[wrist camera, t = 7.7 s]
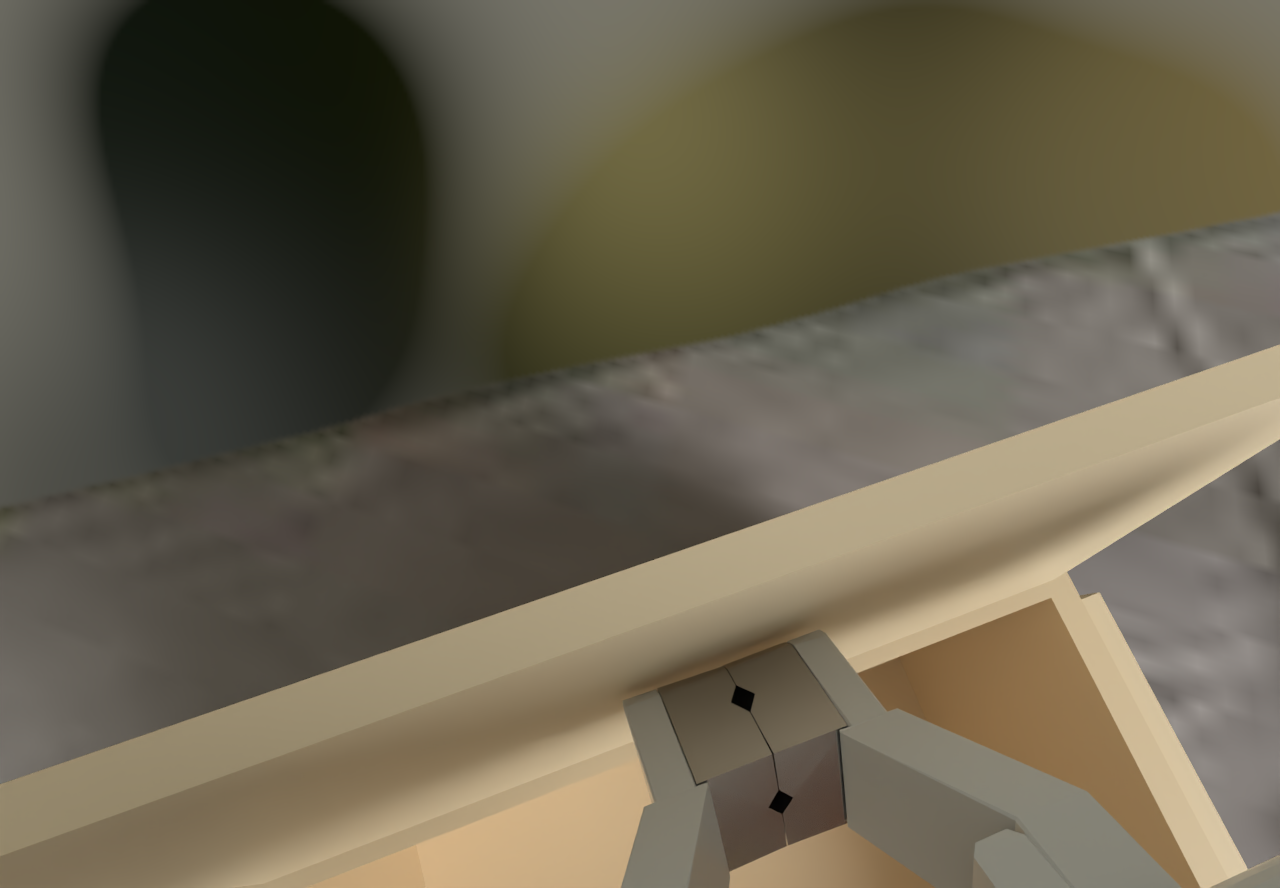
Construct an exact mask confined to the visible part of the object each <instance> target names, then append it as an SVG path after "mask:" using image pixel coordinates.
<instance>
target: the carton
mask: <svg viewBox="0 0 1280 888" xmlns="http://www.w3.org/2000/svg"><path fill="white" fill-rule="evenodd" d="M846 660H847V661H848V662H849V664H850V665H851V666H852V667H853V669H854V670H855V671H856V672H857V674H858V675H859V676H860V678H861V679H862V680H863V681H864V683H865V684H866V685H867V686H868V688H869V689H870V690H871V692H872V693H873V694H874V695H875V697H876V698H877V699H878V701H879V702H880V703H881V704H882V706H883V707H884V708H885V709H886V711H887V712H888V711H891V710H894V709H897V708H898V709H900V710H902V711H905V712H907V713H909V714H912V715H914V716H916V717H918V718H921V719H923V720H925V721H927V722H930V723H932V724H934V725H937V726H939V727H941V728H943V729H946V730H948V731H950V732H953V733H955V734H957V735H959V736H962V737H964V738H966V739H969V740H971V741H973V742H975V743H978V744H980V745H982V746H985V747H987V748H989V749H991V750H994V751H996V752H998V753H1001V754H1003V755H1005V756H1007V757H1010V758H1012V759H1014V760H1017V761H1019V762H1021V763H1023V764H1026V765H1028V766H1030V767H1033V768H1035V769H1037V770H1039V771H1042V772H1044V773H1046V774H1049V775H1051V776H1053V777H1055V778H1058V779H1060V780H1062V781H1065V782H1067V783H1069V784H1071V785H1074V786H1076V787H1078V788H1081V789H1083V790H1085V791H1087V792H1088V793H1089V794H1090V795H1091V796H1092V797H1093V798H1094V799H1095V800H1096V801H1097V802H1098V803H1099V804H1100V805H1101V806H1102V807H1103V808H1104V809H1105V810H1106V811H1107V812H1108V813H1109V814H1110V815H1111V816H1112V817H1113V818H1114V819H1115V820H1116V821H1117V822H1118V823H1119V824H1120V825H1121V826H1122V827H1123V828H1124V829H1125V830H1126V831H1127V832H1128V833H1129V834H1130V835H1131V836H1132V838H1133V839H1134V840H1135V841H1136V842H1137V843H1138V844H1139V845H1140V846H1141V847H1142V848H1143V849H1144V850H1145V851H1146V852H1147V853H1148V854H1149V855H1150V856H1151V857H1152V858H1153V859H1154V860H1155V861H1156V862H1157V863H1158V864H1159V865H1160V866H1161V867H1162V868H1163V869H1164V870H1165V871H1166V872H1167V873H1168V874H1169V875H1170V876H1171V877H1172V878H1173V879H1174V880H1175V881H1176V882H1177V883H1178V884H1179V885H1180V886H1181V887H1182V888H1210V887H1212V886H1214V885H1216V884H1218V883H1220V882H1223V881H1225V880H1227V879H1229V878H1231V877H1233V876H1235V875H1237V874H1240V873H1242V872H1244V871H1246V870H1248V869H1247V867H1246V865H1245V863H1244V861H1243V859H1242V857H1241V856H1240V854H1239V852H1238V850H1237V848H1236V846H1235V844H1234V843H1233V841H1232V839H1231V837H1230V835H1229V833H1228V831H1227V829H1226V828H1225V826H1224V824H1223V822H1222V820H1221V818H1220V816H1219V815H1218V813H1217V811H1216V809H1215V807H1214V805H1213V803H1212V801H1211V800H1210V798H1209V796H1208V794H1207V792H1206V790H1205V788H1204V787H1203V785H1202V783H1201V781H1200V779H1199V777H1198V775H1197V773H1196V772H1195V770H1194V768H1193V766H1192V764H1191V762H1190V760H1189V759H1188V757H1187V755H1186V753H1185V751H1184V749H1183V747H1182V745H1181V744H1180V742H1179V740H1178V738H1177V736H1176V734H1175V732H1174V731H1173V729H1172V727H1171V725H1170V723H1169V721H1168V719H1167V718H1166V716H1165V714H1164V712H1163V710H1162V708H1161V706H1160V704H1159V703H1158V701H1157V699H1156V697H1155V695H1154V693H1153V691H1152V690H1151V688H1150V686H1149V684H1148V682H1147V680H1146V678H1145V676H1144V675H1143V673H1142V671H1141V669H1140V667H1139V665H1138V663H1137V662H1136V660H1135V658H1134V656H1133V654H1132V652H1131V650H1130V648H1129V647H1128V645H1127V643H1126V641H1125V639H1124V637H1123V635H1122V634H1121V632H1120V630H1119V628H1118V626H1117V624H1116V622H1115V620H1114V619H1113V617H1112V615H1111V613H1110V611H1109V609H1108V607H1107V606H1106V604H1105V602H1104V600H1103V598H1102V596H1101V594H1100V592H1099V593H1092V594H1086V595H1080V596H1079V594H1078V592H1077V590H1076V588H1075V586H1074V585H1073V583H1072V581H1071V579H1070V577H1069V575H1068V573H1067V572H1065V573H1064V574H1062V575H1060V576H1059V577H1057V578H1056V579H1054V580H1052V581H1049V582H1047V583H1044V584H1041V585H1039V586H1036V587H1034V588H1031V589H1028V590H1026V591H1023V592H1021V593H1018V594H1015V595H1013V596H1010V597H1008V598H1005V599H1002V600H1000V601H997V602H995V603H992V604H989V605H987V606H984V607H982V608H979V609H976V610H974V611H971V612H969V613H966V614H963V615H961V616H958V617H956V618H953V619H950V620H948V621H945V622H943V623H940V624H937V625H935V626H932V627H930V628H927V629H924V630H922V631H919V632H917V633H914V634H911V635H909V636H906V637H904V638H901V639H898V640H896V641H893V642H891V643H888V644H885V645H883V646H880V647H878V648H875V649H872V650H870V651H867V652H865V653H862V654H859V655H857V656H854V657H852V658H849V659H846ZM649 804H652V802H651V799H650V796H649V793H648V790H647V786H646V783H645V779H644V776H643V773H642V769H641V766H640V762H639V759H638V755H637V752H636V749H635V745H634V742H631V743H628V744H625V745H623V746H620V747H618V748H615V749H612V750H610V751H607V752H605V753H602V754H599V755H597V756H594V757H592V758H589V759H586V760H584V761H581V762H579V763H576V764H573V765H571V766H568V767H566V768H563V769H560V770H558V771H555V772H553V773H550V774H547V775H545V776H542V777H540V778H537V779H534V780H532V781H529V782H527V783H524V784H521V785H519V786H516V787H514V788H511V789H508V790H506V791H503V792H501V793H498V794H495V795H493V796H490V797H488V798H485V799H482V800H480V801H477V802H475V803H472V804H469V805H467V806H464V807H462V808H459V809H456V810H454V811H451V812H449V813H446V814H443V815H441V816H438V817H436V818H433V819H430V820H428V821H425V822H423V823H420V824H417V825H415V826H412V827H410V828H407V829H404V830H402V831H399V832H397V833H394V834H391V835H389V836H386V837H384V838H381V839H378V840H376V841H373V842H371V843H368V844H365V845H363V846H360V847H358V848H355V849H352V850H350V851H347V852H345V853H342V854H339V855H337V856H334V857H332V858H329V859H326V860H324V861H321V862H319V863H316V864H313V865H311V866H308V867H306V868H303V869H300V870H298V871H295V872H293V873H290V874H287V875H285V876H282V877H280V878H277V879H274V880H272V881H269V882H267V883H264V884H257V885H249V886H242V887H235V888H621V886H622V882H623V879H624V875H625V871H626V868H627V864H628V861H629V857H630V854H631V850H632V847H633V843H634V840H635V836H636V833H637V829H638V826H639V822H640V819H641V815H642V812H643V808H644V807H645V806H647V805H649ZM786 844H787V842H786ZM729 873H730V883H729V888H935V887H934V886H932V885H931V884H929V883H928V882H927V881H925V880H924V879H922V878H921V877H919V876H918V875H917V874H915V873H914V872H912V871H911V870H909V869H908V868H906V867H905V866H904V865H902V864H901V863H899V862H898V861H896V860H895V859H894V858H892V857H891V856H889V855H888V854H886V853H885V852H883V851H882V850H881V849H879V848H878V847H876V846H875V845H873V844H872V843H870V842H869V841H868V840H866V839H865V838H863V837H862V836H860V835H859V834H858V833H856V832H855V831H853V830H852V829H850V828H849V827H848V824H847V823H846V824H844V825H841V826H839V827H836V828H833V829H831V830H828V831H825V832H823V833H820V834H817V835H815V836H812V837H809V838H807V839H804V840H801V841H799V842H796V843H794V844H791V845H788V844H787V846H786V847H784V848H781V849H779V850H777V851H775V852H772V853H770V854H768V855H766V856H763V857H761V858H759V859H757V860H755V861H752V862H750V863H748V864H746V865H743V866H741V867H739V868H737V869H734V870H732V871H730V872H729Z"/></svg>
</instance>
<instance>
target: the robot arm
mask: <svg viewBox="0 0 1280 888" xmlns="http://www.w3.org/2000/svg"><path fill="white" fill-rule="evenodd" d="M622 702H623V707H624V711H625V714H626V718H627V721H628V725H629V728H630V732H631V735H632V738H633V742H634V745H635V749H636V752H637V755H638V759H639V762H640V766H641V769H642V773H643V776H644V779H645V783H646V786H647V790H648V793H649V796H650V799H651V802H652V804H649V805H647V806H645V807H644V808H643V812H642V815H641V819H640V822H639V826H638V829H637V833H636V836H635V840H634V843H633V847H632V850H631V854H630V857H629V861H628V864H627V868H626V871H625V875H624V879H623V882H622V886H621V888H729V883H730V873H729V872H730V871H732V870H734V869H737V868H739V867H741V866H743V865H746V864H748V863H750V862H752V861H755V860H757V859H759V858H761V857H763V856H766V855H768V854H770V853H772V852H775V851H777V850H779V849H781V848H784V847H786V846H787V844H788V845H791V844H794V843H796V842H799V841H801V840H804V839H807V838H809V837H812V836H815V835H817V834H820V833H823V832H825V831H828V830H831V829H833V828H836V827H839V826H841V825H844V824H846V823H847V824H848V827H849V828H850V829H852V830H853V831H855V832H856V833H858V834H859V835H860V836H862V837H863V838H865V839H866V840H868V841H869V842H870V843H872V844H873V845H875V846H876V847H878V848H879V849H881V850H882V851H883V852H885V853H886V854H888V855H889V856H891V857H892V858H894V859H895V860H896V861H898V862H899V863H901V864H902V865H904V866H905V867H906V868H908V869H909V870H911V871H912V872H914V873H915V874H917V875H918V876H919V877H921V878H922V879H924V880H925V881H927V882H928V883H929V884H931V885H932V886H934V887H935V888H1182V887H1181V886H1180V885H1179V884H1178V883H1177V882H1176V881H1175V880H1174V879H1173V878H1172V877H1171V876H1170V875H1169V874H1168V873H1167V872H1166V871H1165V870H1164V869H1163V868H1162V867H1161V866H1160V865H1159V864H1158V863H1157V862H1156V861H1155V860H1154V859H1153V858H1152V857H1151V856H1150V855H1149V854H1148V853H1147V852H1146V851H1145V850H1144V849H1143V848H1142V847H1141V846H1140V845H1139V844H1138V843H1137V842H1136V841H1135V840H1134V839H1133V838H1132V836H1131V835H1130V834H1129V833H1128V832H1127V831H1126V830H1125V829H1124V828H1123V827H1122V826H1121V825H1120V824H1119V823H1118V822H1117V821H1116V820H1115V819H1114V818H1113V817H1112V816H1111V815H1110V814H1109V813H1108V812H1107V811H1106V810H1105V809H1104V808H1103V807H1102V806H1101V805H1100V804H1099V803H1098V802H1097V801H1096V800H1095V799H1094V798H1093V797H1092V796H1091V795H1090V794H1089V793H1088V792H1087V791H1085V790H1083V789H1081V788H1078V787H1076V786H1074V785H1071V784H1069V783H1067V782H1065V781H1062V780H1060V779H1058V778H1055V777H1053V776H1051V775H1049V774H1046V773H1044V772H1042V771H1039V770H1037V769H1035V768H1033V767H1030V766H1028V765H1026V764H1023V763H1021V762H1019V761H1017V760H1014V759H1012V758H1010V757H1007V756H1005V755H1003V754H1001V753H998V752H996V751H994V750H991V749H989V748H987V747H985V746H982V745H980V744H978V743H975V742H973V741H971V740H969V739H966V738H964V737H962V736H959V735H957V734H955V733H953V732H950V731H948V730H946V729H943V728H941V727H939V726H937V725H934V724H932V723H930V722H927V721H925V720H923V719H921V718H918V717H916V716H914V715H912V714H909V713H907V712H905V711H902V710H900V709H898V708H897V709H894V710H891V711H888V712H887V711H886V709H885V708H884V707H883V706H882V704H881V703H880V702H879V701H878V699H877V698H876V697H875V695H874V694H873V693H872V692H871V690H870V689H869V688H868V686H867V685H866V684H865V683H864V681H863V680H862V679H861V678H860V676H859V675H858V674H857V672H856V671H855V670H854V669H853V667H852V666H851V665H850V664H849V662H848V661H847V660H846V658H845V657H844V656H843V655H842V653H841V652H840V651H839V649H838V648H837V647H836V646H835V644H834V643H833V642H832V641H831V639H830V638H829V637H828V635H827V634H826V633H825V632H823V631H821V630H816V631H814V632H811V633H808V634H805V635H803V636H800V637H797V638H795V639H792V640H789V641H787V643H786V642H783V643H781V644H778V645H775V646H773V647H770V648H767V649H765V650H762V651H759V652H757V653H754V654H751V655H749V656H746V657H743V658H741V659H738V660H735V661H733V662H730V663H728V664H725V665H723V666H722V667H719V668H716V669H713V670H710V671H707V672H704V673H701V674H698V675H695V676H692V677H689V678H686V679H683V680H680V681H677V682H674V683H671V684H668V685H665V686H662V687H659V688H657V690H656V689H655V690H652V691H649V692H646V693H643V694H640V695H637V696H634V697H631V698H628V699H625V700H622ZM786 842H787V844H786ZM1210 888H1280V855H1278V856H1276V857H1274V858H1272V859H1269V860H1267V861H1265V862H1263V863H1261V864H1259V865H1257V866H1255V867H1252V868H1250V869H1248V870H1246V871H1244V872H1242V873H1240V874H1237V875H1235V876H1233V877H1231V878H1229V879H1227V880H1225V881H1223V882H1220V883H1218V884H1216V885H1214V886H1212V887H1210Z"/></svg>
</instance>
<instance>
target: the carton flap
mask: <svg viewBox="0 0 1280 888" xmlns="http://www.w3.org/2000/svg"><path fill="white" fill-rule="evenodd" d="M1279 439H1280V345H1277V346H1275V347H1272V348H1269V349H1266V350H1263V351H1260V352H1257V353H1254V354H1251V355H1248V356H1245V357H1243V358H1240V359H1237V360H1234V361H1231V362H1228V363H1225V364H1222V365H1219V366H1216V367H1213V368H1211V369H1208V370H1205V371H1202V372H1199V373H1196V374H1193V375H1190V376H1187V377H1184V378H1181V379H1179V380H1176V381H1173V382H1170V383H1167V384H1164V385H1161V386H1158V387H1155V388H1152V389H1149V390H1147V391H1144V392H1141V393H1138V394H1135V395H1132V396H1129V397H1126V398H1123V399H1120V400H1117V401H1114V402H1112V403H1109V404H1106V405H1103V406H1100V407H1097V408H1094V409H1091V410H1088V411H1085V412H1082V413H1080V414H1077V415H1074V416H1071V417H1068V418H1065V419H1062V420H1059V421H1056V422H1053V423H1050V424H1048V425H1045V426H1042V427H1039V428H1036V429H1033V430H1030V431H1027V432H1024V433H1021V434H1018V435H1016V436H1013V437H1010V438H1007V439H1004V440H1001V441H998V442H995V443H992V444H989V445H986V446H984V447H981V448H978V449H975V450H972V451H969V452H966V453H963V454H960V455H957V456H954V457H952V458H949V459H946V460H943V461H940V462H937V463H934V464H931V465H928V466H925V467H922V468H919V469H917V470H914V471H911V472H908V473H905V474H902V475H899V476H896V477H893V478H890V479H887V480H885V481H882V482H879V483H876V484H873V485H870V486H867V487H864V488H861V489H858V490H855V491H853V492H850V493H847V494H844V495H841V496H838V497H835V498H832V499H829V500H826V501H823V502H821V503H818V504H815V505H812V506H809V507H806V508H803V509H800V510H797V511H794V512H791V513H789V514H786V515H783V516H780V517H777V518H774V519H771V520H768V521H765V522H762V523H759V524H756V525H754V526H751V527H748V528H745V529H742V530H739V531H736V532H733V533H730V534H727V535H724V536H722V537H719V538H716V539H713V540H710V541H707V542H704V543H701V544H698V545H695V546H692V547H690V548H687V549H684V550H681V551H678V552H675V553H672V554H669V555H666V556H663V557H660V558H658V559H655V560H652V561H649V562H646V563H643V564H640V565H637V566H634V567H631V568H628V569H626V570H623V571H620V572H617V573H614V574H611V575H608V576H605V577H602V578H599V579H596V580H594V581H591V582H588V583H585V584H582V585H579V586H576V587H573V588H570V589H567V590H564V591H561V592H559V593H556V594H553V595H550V596H547V597H544V598H541V599H538V600H535V601H532V602H529V603H527V604H524V605H521V606H518V607H515V608H512V609H509V610H506V611H503V612H500V613H497V614H495V615H492V616H489V617H486V618H483V619H480V620H477V621H474V622H471V623H468V624H465V625H463V626H460V627H457V628H454V629H451V630H448V631H445V632H442V633H439V634H436V635H433V636H431V637H428V638H425V639H422V640H419V641H416V642H413V643H410V644H407V645H404V646H401V647H398V648H396V649H393V650H390V651H387V652H384V653H381V654H378V655H375V656H372V657H369V658H366V659H364V660H361V661H358V662H355V663H352V664H349V665H346V666H343V667H340V668H337V669H334V670H332V671H329V672H326V673H323V674H320V675H317V676H314V677H311V678H308V679H305V680H302V681H300V682H297V683H294V684H291V685H288V686H285V687H282V688H279V689H276V690H273V691H270V692H268V693H265V694H262V695H259V696H256V697H253V698H250V699H247V700H244V701H241V702H238V703H236V704H233V705H230V706H227V707H224V708H221V709H218V710H215V711H212V712H209V713H206V714H203V715H201V716H198V717H195V718H192V719H189V720H186V721H183V722H180V723H177V724H174V725H171V726H169V727H166V728H163V729H160V730H157V731H154V732H151V733H148V734H145V735H142V736H139V737H137V738H134V739H131V740H128V741H125V742H122V743H119V744H116V745H113V746H110V747H107V748H105V749H102V750H99V751H96V752H93V753H90V754H87V755H84V756H81V757H78V758H75V759H73V760H70V761H67V762H64V763H61V764H58V765H55V766H52V767H49V768H46V769H43V770H40V771H38V772H35V773H32V774H29V775H26V776H23V777H20V778H17V779H14V780H11V781H8V782H6V783H3V784H0V888H235V887H242V886H249V885H257V884H264V883H267V882H269V881H272V880H274V879H277V878H280V877H282V876H285V875H287V874H290V873H293V872H295V871H298V870H300V869H303V868H306V867H308V866H311V865H313V864H316V863H319V862H321V861H324V860H326V859H329V858H332V857H334V856H337V855H339V854H342V853H345V852H347V851H350V850H352V849H355V848H358V847H360V846H363V845H365V844H368V843H371V842H373V841H376V840H378V839H381V838H384V837H386V836H389V835H391V834H394V833H397V832H399V831H402V830H404V829H407V828H410V827H412V826H415V825H417V824H420V823H423V822H425V821H428V820H430V819H433V818H436V817H438V816H441V815H443V814H446V813H449V812H451V811H454V810H456V809H459V808H462V807H464V806H467V805H469V804H472V803H475V802H477V801H480V800H482V799H485V798H488V797H490V796H493V795H495V794H498V793H501V792H503V791H506V790H508V789H511V788H514V787H516V786H519V785H521V784H524V783H527V782H529V781H532V780H534V779H537V778H540V777H542V776H545V775H547V774H550V773H553V772H555V771H558V770H560V769H563V768H566V767H568V766H571V765H573V764H576V763H579V762H581V761H584V760H586V759H589V758H592V757H594V756H597V755H599V754H602V753H605V752H607V751H610V750H612V749H615V748H618V747H620V746H623V745H625V744H628V743H631V742H633V738H632V735H631V732H630V728H629V725H628V721H627V718H626V714H625V711H624V707H623V702H622V700H625V699H628V698H631V697H634V696H637V695H640V694H643V693H646V692H649V691H652V690H655V689H656V690H657V688H659V687H662V686H665V685H668V684H671V683H674V682H677V681H680V680H683V679H686V678H689V677H692V676H695V675H698V674H701V673H704V672H707V671H710V670H713V669H716V668H719V667H722V666H723V665H725V664H728V663H730V662H733V661H735V660H738V659H741V658H743V657H746V656H749V655H751V654H754V653H757V652H759V651H762V650H765V649H767V648H770V647H773V646H775V645H778V644H781V643H783V642H786V643H787V641H789V640H792V639H795V638H797V637H800V636H803V635H805V634H808V633H811V632H814V631H816V630H821V631H823V632H825V633H826V634H827V635H828V637H829V638H830V639H831V641H832V642H833V643H834V644H835V646H836V647H837V648H838V649H839V651H840V652H841V653H842V655H843V656H844V657H845V658H846V659H849V658H852V657H854V656H857V655H859V654H862V653H865V652H867V651H870V650H872V649H875V648H878V647H880V646H883V645H885V644H888V643H891V642H893V641H896V640H898V639H901V638H904V637H906V636H909V635H911V634H914V633H917V632H919V631H922V630H924V629H927V628H930V627H932V626H935V625H937V624H940V623H943V622H945V621H948V620H950V619H953V618H956V617H958V616H961V615H963V614H966V613H969V612H971V611H974V610H976V609H979V608H982V607H984V606H987V605H989V604H992V603H995V602H997V601H1000V600H1002V599H1005V598H1008V597H1010V596H1013V595H1015V594H1018V593H1021V592H1023V591H1026V590H1028V589H1031V588H1034V587H1036V586H1039V585H1041V584H1044V583H1047V582H1049V581H1052V580H1054V579H1056V578H1057V577H1059V576H1060V575H1062V574H1064V573H1065V572H1067V571H1069V570H1070V569H1072V568H1073V567H1075V566H1077V565H1078V564H1080V563H1081V562H1083V561H1085V560H1086V559H1088V558H1089V557H1091V556H1093V555H1094V554H1096V553H1097V552H1099V551H1101V550H1102V549H1104V548H1105V547H1107V546H1109V545H1110V544H1112V543H1113V542H1115V541H1117V540H1118V539H1120V538H1122V537H1123V536H1125V535H1126V534H1128V533H1130V532H1131V531H1133V530H1134V529H1136V528H1138V527H1139V526H1141V525H1142V524H1144V523H1146V522H1147V521H1149V520H1150V519H1152V518H1154V517H1155V516H1157V515H1158V514H1160V513H1162V512H1163V511H1165V510H1167V509H1168V508H1170V507H1171V506H1173V505H1175V504H1176V503H1178V502H1179V501H1181V500H1183V499H1184V498H1186V497H1187V496H1189V495H1191V494H1192V493H1194V492H1195V491H1197V490H1199V489H1200V488H1202V487H1203V486H1205V485H1207V484H1208V483H1210V482H1211V481H1213V480H1215V479H1216V478H1218V477H1220V476H1221V475H1223V474H1224V473H1226V472H1228V471H1229V470H1231V469H1232V468H1234V467H1236V466H1237V465H1239V464H1240V463H1242V462H1244V461H1245V460H1247V459H1248V458H1250V457H1252V456H1253V455H1255V454H1256V453H1258V452H1260V451H1261V450H1263V449H1265V448H1266V447H1268V446H1269V445H1271V444H1273V443H1274V442H1276V441H1277V440H1279Z"/></svg>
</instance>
